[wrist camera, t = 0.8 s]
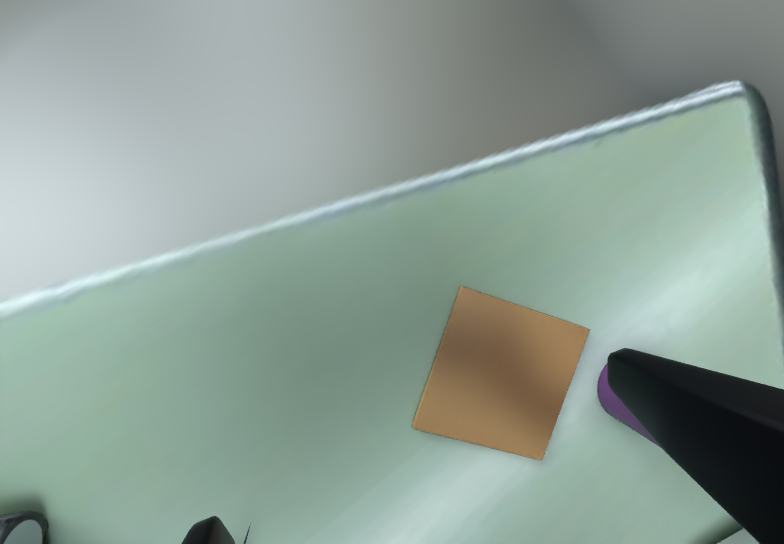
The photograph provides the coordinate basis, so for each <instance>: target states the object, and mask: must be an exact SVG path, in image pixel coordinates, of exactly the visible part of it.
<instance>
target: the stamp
mask: <svg viewBox="0 0 784 544" xmlns="http://www.w3.org/2000/svg"><path fill="white" fill-rule="evenodd" d="M717 544H759V543H758V542H757V541H756V540H755V539H754V538H753V537H752V536H751V535H750V534H749V533H748V532H747V531H746V530H745V529H742V530H740V531H738V532H737V533H735V534H733V535H731V536H730V537H728V538H726V539H724V540H723V541H721V542H719V543H717Z"/></svg>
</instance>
